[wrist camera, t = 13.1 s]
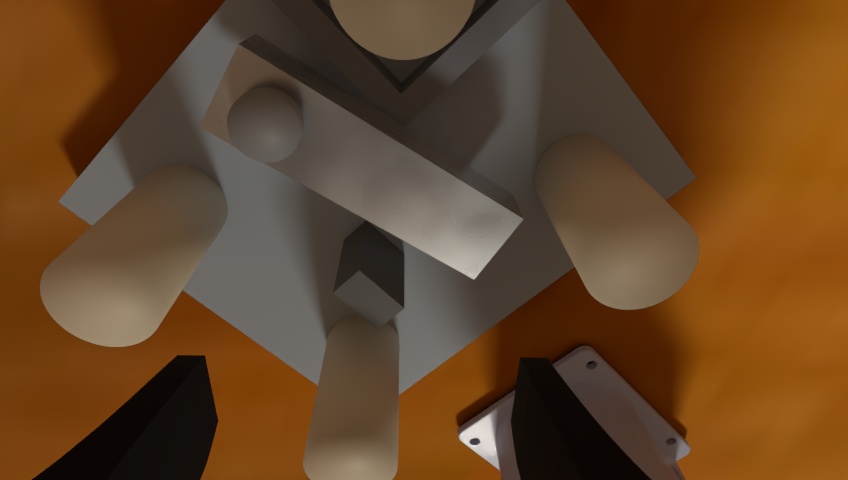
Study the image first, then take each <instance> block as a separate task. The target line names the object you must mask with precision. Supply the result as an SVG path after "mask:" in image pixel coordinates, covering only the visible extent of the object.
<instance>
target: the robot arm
mask: <svg viewBox="0 0 848 480" xmlns="http://www.w3.org/2000/svg"><path fill="white" fill-rule="evenodd" d="M590 361H594V362H593V363H591V364H587V363H588V362H590ZM217 423H218V418H217V413H216V408H215V403H214V399H213V394H212V389H211V384H210V379H209V374H208V369H207V364H206V359H205V356H193V355H177V356H176V357H175V358H174V359H173V360H172V361H171V362H170V363H168V364H167V365H166V366H165V367H164V368H163V369H162V370H161V371H160V372H159V373H157V374H156V375H155V376H154V377H153V378H152V379H151V380H150V381H149V382H148V383H147V384H146V385H144V386H143V387H142V388H141V389H140V390H139V391H138V392H137V393H136V394H135V395H134V396H133V397H131V398H130V399H129V400H128V401H127V402H126V403H125V404H124V405H123V406H121V407H120V408H119V409H118V410H117V411H116V412H115V413H114V414H112V415H111V416H110V417H109V418H108V419H107V420H106V421H105V422H103V423H102V424H101V425H100V426H99V427H98V428H96V429H95V430H94V431H93V432H92V433H90V434H89V435H88V436H87V437H86V438H84V439H83V440H82V441H81V442H79V443H78V444H77V445H76V446H75V447H73V448H72V449H71V450H70V451H69V452H67V453H66V454H65V455H64V456H63V457H61V458H60V459H59V460H57V461H56V462H55V463H54V464H52V465H51V466H50V467H48V468H47V469H46V470H44V471H43V472H42V473H40V474H39V475H38V476H36V477H35V478H34V479H32V480H200V479H201V476H202V474H203V471H204V469H205V466H206V463H207V460H208V456H209V453H210V450H211V446H212V442H213V439H214V435H215V431H216V427H217ZM458 438H459V440H460V441H461V442H463V443H464V444H465V445H467V446H468V447H469V448H471V449H472V450H473V451H475V452H476V453H477V454H479V455H480V456H481V457H483V458H484V459H485V460H487V461H488V462H489V463H491V464H492V465H493V466H495V467H496V468H497V469H498V470H500V473H501V479H502V480H685V478H684V476H683V474H682V472H681V470H680V468H679V466H678V465H677V463H676V461H677V460H679V459H681V458H682V457H684V456H686V455H687V454H688V453H689V452H690V446H689V444H688V443H687V441H686V440H685V439H684V438H683V437H682V436H681V435H680V434H679V433H678V432H677V431H676V430H675V429H674V428H673V427H672V426H671V425H670V424H669V423H668V422H667V421H666V420H665V419H664V418H663V417H662V416H661V415H660V414H659V413H658V412H657V411H656V410H655V409H654V408H653V407H651V406H650V405H649V404H648V403H647V402H646V401H645V400H644V399H643V398H642V397H641V396H640V395H639V394H638V393H637V392H636V391H635V390H634V389H633V388H632V387H631V386H630V385H629V384H628V383H627V382H626V381H625V380H624V379H623V378H622V377H621V376H620V375H619V374H618V373H617V372H616V371H615V370H614V369H613V368H612V367H611V366H610V365H609V364H608V363H607V362H606V361H605V360H604V359H603V358H602V357H601V356H600V355H599V354H598V353H597V352H596V351H595V350H594V349H593V348H591V347H590V346H580V347H578V348H576V349H575V350H573V351H572V352H570V353H569V354H567V355H566V356H564V357H563V358H561V359H560V360H559V361H557V362H556V363H554V364H553V365H552V364H551V362H550V361H549V360H548V359H547V358H520V364H519V370H518V377H517V383H516V389H515V390H514V391H512V392H511V393H509V394H508V395H506V396H505V397H503V398H502V399H500V400H499V401H497V402H496V403H494V404H493V405H491V406H490V407H488V408H487V409H485V410H484V411H482V412H481V413H480V414H478V415H477V416H475V417H474V418H472V419H471V420H469V421H468V422H466V423H465V424H463V425H462V426H460V427H459V429H458ZM473 438H476V439H473Z"/></svg>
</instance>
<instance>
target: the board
mask: <svg viewBox="0 0 848 480" xmlns="http://www.w3.org/2000/svg"><path fill="white" fill-rule="evenodd" d="M254 34H258V35H259V36H261V37H262V38H264V39H266V40H267V41H269V42H270V43H272V44H274V45H275V46H277V47H278V48H280V49H282V50H283V51H285V52H286V53H288V54H290V55H291V56H293V57H294V58H296V59H298V60H299V61H301V62H302V63H304V64H306V65H307V66H309V67H310V68H312V69H314V70H315V71H317V72H318V73H320V74H322V75H323V76H325V77H326V78H328V79H330V80H331V81H333V82H334V83H336V84H338V85H339V86H341V87H342V88H344V89H346V90H347V91H349V92H350V93H352V94H354V95H355V96H357V97H358V98H360V99H362V100H363V101H365V102H366V103H368V104H370V105H371V106H373V107H374V108H376V109H378V110H379V111H381V112H382V113H384V114H386V115H387V116H389V117H390V118H392V119H393V120H395V121H397V122H398V123H400V124H401V125H403V126H405V127H406V128H408V129H409V130H411V131H413V132H414V133H416V134H417V135H419V136H421V137H422V138H424V139H425V140H427V141H429V142H430V143H432V144H433V145H435V146H437V147H438V148H440V149H441V150H443V151H445V152H446V153H448V154H449V155H451V156H453V157H454V158H456V159H457V160H459V161H461V162H462V163H464V164H465V165H467V166H469V167H470V168H472V169H473V170H475V171H477V172H478V173H480V174H481V175H483V176H485V177H486V178H488V179H489V180H491V181H493V182H494V183H496V184H497V185H499V186H501V187H502V188H504V189H505V190H507V191H509V192H510V193H512V194H513V195H514V198H515V200H516V202H517V205H518V207H519V209H520V212H521V214H522V216H523V218H524V219H523V221H522V222H521V223H520V224H519V225H518V227H517V228H516V229H515V230H514V232H513V233H512V234H511V235H510V236H509V238H508V239H507V240H506V241H505V243H504V244H503V245H502V246H501V247H500V249H499V250H498V251H497V252H496V254H495V255H494V256H493V257H492V258H491V260H490V261H489V262H488V263H487V265H486V266H485V267H484V268H483V269H482V271H481V272H480V273H479V274H478V276H477V277H476V278H475V279H472V278H470V277H468V276H467V275H465V274H463V273H461V272H459V271H458V270H456V269H454V268H452V267H450V266H448V265H447V264H445V263H443V262H441V261H439V260H438V259H436V258H434V257H432V256H430V255H429V254H427V253H425V252H423V251H421V250H420V249H418V248H416V247H414V246H412V245H411V244H409V243H407V242H405V241H403V240H402V239H400V238H398V237H396V236H394V235H393V234H391V233H389V232H387V231H385V230H384V229H382V228H380V227H378V226H376V225H375V224H373V223H371V222H369V221H367V220H366V219H364V218H362V217H360V216H358V215H357V214H355V213H353V212H351V211H349V210H348V209H346V208H344V207H342V206H340V205H339V204H337V203H335V202H333V201H331V200H330V199H328V198H326V197H324V196H322V195H320V194H319V193H317V192H315V191H313V190H311V189H310V188H308V187H306V186H304V185H302V184H301V183H299V182H297V181H295V180H293V179H292V178H290V177H288V176H286V175H284V174H283V173H281V172H279V171H277V170H275V169H274V168H272V167H270V166H268V165H266V164H265V163H263V162H267V163H269V162H277V161H280V160H283V159H285V158H286V157H288V156H289V155H290V154H292V152H293V151H294V150H295V148H296V147H297V145H298V143H299V141H300V140H301V137H302V135H303V132H304V118H303V114H302V111H301V109H300V107H299V106H298V104H297V103H296V101H295V100H294V99H293V98H292V97H291V96H290V95H288V94H287V93H285V92H284V91H282V90H280V89H277V88H274V87H268V86H261V87H255V88H252V89H250V90H248V91H247V92H245V93H244V94H243V95H242V96H241V97H240V98H238V99H237V100H236V101H235V102H234V104H233V105H232V106H231V108H230V110H229V113H228V117H227V129H228V133H229V136H230V138H231V140H232V142H233V143H234V145H235V146H236V147H237V148H236V147H234V146H232V145H230V144H229V143H227V142H225V141H223V140H221V139H220V138H218V137H216V136H214V135H212V134H211V133H209V132H207V131H205V130H203V129H201V128H200V127H199V126H200V124H201V122H202V120H203V118H204V116H205V113H206V111H207V109H208V107H209V105H210V103H211V101H212V99H213V96H214V94H215V92H216V90H217V88H218V86H219V84H220V82H221V80H222V77H223V75H224V73H225V71H226V69H227V67H228V65H229V63H230V61H231V58H232V56H233V54H234V52H235V50H236V48H237V46H238V44H239V43H241V42H242V41H244V40H246V39H247V38H249V37H251V36H253V35H254ZM695 179H696V176H695V175H694V174H693V172H692V171H691V170H690V168H689V167H688V166H687V164H686V163H685V161H684V160H683V159H682V157H681V156H680V155H679V153H678V152H677V151H676V149H675V148H674V147H673V145H672V144H671V142H670V141H669V140H668V138H667V137H666V136H665V134H664V133H663V132H662V130H661V129H660V128H659V126H658V125H657V123H656V122H655V121H654V119H653V118H652V117H651V115H650V114H649V113H648V111H647V110H646V109H645V107H644V106H643V104H642V103H641V102H640V100H639V99H638V98H637V96H636V95H635V94H634V92H633V91H632V90H631V88H630V87H629V85H628V84H627V83H626V81H625V80H624V79H623V77H622V76H621V75H620V73H619V72H618V71H617V69H616V68H615V66H614V65H613V64H612V62H611V61H610V60H609V58H608V57H607V56H606V54H605V53H604V52H603V50H602V49H601V47H600V46H599V45H598V43H597V42H596V41H595V39H594V38H593V37H592V35H591V34H590V33H589V31H588V30H587V28H586V27H585V26H584V24H583V23H582V22H581V20H580V19H579V18H578V16H577V15H576V14H575V12H574V11H573V9H572V8H571V7H570V5H569V4H568V3H567V1H566V0H475V3H474V6H473V9H472V12H471V14H470V16H469V18H468V20H467V22H466V23H465V25H464V27H463V28H462V29H461V31H460V32H459V33H458V35H457V36H456V37H455V38H454V39H453V40H452V41H451V42H450V43H448V44H447V45H446V46H444V47H443V48H442V49H440V50H438V51H436V52H435V53H432V54H430V55H428V56H425V57H421V58H417V59H410V60H396V59H389V58H385V57H382V56H379V55H376V54H374V53H372V52H370V51H368V50H367V49H365V48H363V47H362V46H360V45H359V44H358V43H357V42H355V41H354V40H353V39H352V38H351V37H350V36H349V35H348V34H347V32H346V31H345V30H344V29H343V27H342V26H341V24H340V23H339V21H338V19H337V18H336V16H335V14H334V11H333V9H332V7H331V4H330V0H225V2H224V3H223V4H222V5H221V6H220V8H219V9H218V10H217V11H216V12H215V14H214V15H213V16H212V17H211V18H210V20H209V21H208V22H207V23H206V25H205V26H204V27H203V28H202V29H201V31H200V32H199V33H198V34H197V35H196V37H195V38H194V39H193V40H192V41H191V43H190V44H189V45H188V46H187V47H186V49H185V50H184V51H183V52H182V53H181V55H180V56H179V57H178V58H177V59H176V61H175V62H174V63H173V64H172V65H171V67H170V68H169V69H168V70H167V71H166V73H165V74H164V75H163V76H162V77H161V79H160V80H159V81H158V82H157V83H156V85H155V86H154V87H153V88H152V90H151V91H150V92H149V93H148V94H147V96H146V97H145V98H144V99H143V100H142V102H141V103H140V104H139V105H138V106H137V108H136V109H135V110H134V111H133V112H132V114H131V115H130V116H129V117H128V118H127V120H126V121H125V122H124V123H123V124H122V126H121V127H120V128H119V129H118V130H117V132H116V133H115V134H114V135H113V136H112V138H111V139H110V140H109V141H108V142H107V144H106V145H105V146H104V147H103V148H102V150H101V151H100V152H99V153H98V155H97V156H96V157H95V158H94V159H93V161H92V162H91V163H90V164H89V165H88V167H87V168H86V169H85V170H84V171H83V173H82V174H81V175H80V176H79V177H78V179H77V180H76V181H75V182H74V183H73V185H72V186H71V187H70V188H69V189H68V191H67V192H66V193H65V194H64V195H63V197H62V198H61V199H60V200H59V201H58V202H59V203H61V204H62V205H63V206H65V207H66V208H68V209H69V210H70V211H72V212H73V213H75V214H76V215H78V216H79V217H80V218H82V219H83V220H85V221H86V222H87V223H89V224H90V225H92V226H91V227H90V228H89V229H88V230H87V231H86V232H85V233H84V234H82V235H81V236H80V237H79V238H78V239H77V240H76V241H75V242H74V243H72V244H71V245H70V246H69V247H68V248H67V249H66V250H65V251H64V252H62V253H61V254H60V255H59V256H58V257H57V258H56V259H55V260H54V261H52V262H51V263H50V264H49V265H48V266H47V268H46V269H45V271H44V273H43V275H42V277H41V281H40V293H41V297H42V301H43V303H44V305H45V307H46V309H47V311H48V312H49V314H50V315H51V316H52V318H53V319H54V320H55V321H56V322H57V323H58V324H59V325H60V326H61V327H63V328H64V329H65V330H67V331H68V332H70V333H71V334H73V335H75V336H76V337H78V338H80V339H83V340H85V341H87V342H90V343H93V344H97V345H102V346H108V347H124V346H130V345H134V344H137V343H140V342H142V341H144V340H145V339H147V338H149V337H150V336H151V335H152V334H153V333H154V332H155V331H156V329H157V328H158V326H159V325H160V323H161V322H162V320H163V319H164V317H165V316H166V314H167V312H168V311H169V309H170V308H171V306H172V305H173V303H174V302H175V300H176V299H177V297H178V295H179V294H180V292H181V291H182V290H183V291H185V292H186V293H188V294H189V295H190V296H192V297H193V298H195V299H196V300H198V301H199V302H200V303H202V304H203V305H205V306H206V307H207V308H209V309H210V310H212V311H213V312H214V313H216V314H217V315H219V316H220V317H222V318H223V319H224V320H226V321H227V322H229V323H230V324H231V325H233V326H234V327H236V328H237V329H238V330H240V331H241V332H243V333H244V334H246V335H247V336H248V337H250V338H251V339H253V340H254V341H255V342H257V343H258V344H260V345H261V346H262V347H264V348H265V349H267V350H268V351H270V352H271V353H272V354H274V355H275V356H277V357H278V358H279V359H281V360H282V361H284V362H285V363H286V364H288V365H289V366H291V367H292V368H293V369H295V370H296V371H298V372H299V373H301V374H302V375H303V376H305V377H306V378H308V379H309V380H310V381H312V382H313V383H315V384H316V385H317V386H318V388H317V393H316V398H315V403H314V408H313V413H312V418H311V424H310V429H309V434H308V439H307V444H306V449H305V454H304V459H303V466H304V470H305V473H306V474H307V476H308V477H309V479H310V480H392V479H393V478H394V476H395V474H396V472H397V468H398V421H399V394H401V393H402V392H404V391H405V390H406V389H408V388H409V387H410V386H412V385H413V384H414V383H416V382H417V381H419V380H420V379H421V378H423V377H424V376H425V375H427V374H428V373H430V372H431V371H432V370H434V369H435V368H436V367H438V366H439V365H441V364H442V363H443V362H445V361H446V360H447V359H449V358H450V357H452V356H453V355H454V354H456V353H457V352H458V351H460V350H461V349H463V348H464V347H465V346H467V345H468V344H469V343H471V342H472V341H474V340H475V339H476V338H478V337H479V336H480V335H482V334H483V333H485V332H486V331H487V330H489V329H490V328H491V327H493V326H494V325H496V324H497V323H498V322H500V321H501V320H502V319H504V318H505V317H506V316H508V315H509V314H511V313H512V312H513V311H515V310H516V309H517V308H519V307H520V306H522V305H523V304H524V303H526V302H527V301H528V300H530V299H531V298H533V297H534V296H535V295H537V294H538V293H539V292H541V291H542V290H544V289H545V288H546V287H548V286H549V285H550V284H552V283H553V282H555V281H556V280H557V279H559V278H560V277H561V276H563V275H564V274H566V273H567V272H568V271H570V270H571V269H572V268H574V267H575V268H576V270H577V272H578V274H579V275H580V277H581V279H582V281H583V283H584V285H585V287H586V289H587V290H588V292H589V293H590V294H591V296H592V297H594V298H595V299H596V300H597V301H599V302H600V303H602V304H604V305H606V306H608V307H611V308H615V309H621V310H636V309H642V308H646V307H650V306H653V305H656V304H658V303H660V302H662V301H664V300H666V299H667V298H669V297H671V296H672V295H673V294H675V293H676V292H677V291H678V290H679V289H681V288H682V287H683V285H684V284H685V283H686V282H687V281H688V279H689V278H690V277H691V275H692V273H693V271H694V269H695V267H696V264H697V261H698V257H699V243H698V238H697V236H696V233H695V231H694V230H693V228H692V227H691V225H690V224H689V223H688V222H687V221H686V220H685V219H684V218H683V217H682V216H681V215H680V214H679V213H678V212H677V211H676V210H675V209H674V208H673V207H672V206H671V205H670V204H669V203H668V202H667V201H666V200H667V199H669V198H670V197H671V196H673V195H674V194H675V193H677V192H678V191H679V190H681V189H682V188H684V187H685V186H686V185H688V184H689V183H690V182H692V181H693V180H695Z"/></svg>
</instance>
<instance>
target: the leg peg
mask: <svg viewBox="0 0 848 480" xmlns="http://www.w3.org/2000/svg"><path fill="white" fill-rule="evenodd" d="M474 3H475V0H330V4H331V7H332V9H333V11H334V14H335V16H336V18H337V19H338V21H339V23H340V24H341V26H342V27H343V29H344V30H345V31H346V32H347V34H348V35H349V36H350V37H351V38H352V39H353V40H354V41H355V42H357V43H358V44H359V45H360V46H362V47H363V48H365V49H367V50H368V51H370V52H372V53H374V54H376V55H379V56H382V57H385V58H389V59H396V60H410V59H417V58H421V57H425V56H428V55H430V54H432V53H435V52H436V51H438V50H440V49H442V48H443V47H444V46H446V45H447V44H448V43H450V42H451V41H452V40H453V39H454V38H455V37H456V36H457V35H458V33H459V32H460V31H461V29H462V28H463V27H464V25H465V23H466V22H467V20H468V18H469V16H470V14H471V12H472V9H473V6H474Z"/></svg>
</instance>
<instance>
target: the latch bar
mask: <svg viewBox="0 0 848 480" xmlns="http://www.w3.org/2000/svg"><path fill="white" fill-rule="evenodd" d="M261 86H268V87H274V88H277V89H280V90H282V91H284V92H285V93H287V94H288V95H290V96H291V97H292V98H293V99H294V100H295V101H296V103H297V104H298V106H299V107H300V109H301V111H302V114H303V118H304V132H303V135H302V137H301V140H300V141H299V143H298V145H297V147H296V148H295V150H294V151H293V152H292V154H290V155H289V156H288V157H286V158H285V159H283V160H280V161H277V162H269V163H267V162H263V163H265V164H266V165H268V166H270V167H272V168H274V169H275V170H277V171H279V172H281V173H283V174H284V175H286V176H288V177H290V178H292V179H293V180H295V181H297V182H299V183H301V184H302V185H304V186H306V187H308V188H310V189H311V190H313V191H315V192H317V193H319V194H320V195H322V196H324V197H326V198H328V199H330V200H331V201H333V202H335V203H337V204H339V205H340V206H342V207H344V208H346V209H348V210H349V211H351V212H353V213H355V214H357V215H358V216H360V217H362V218H364V219H366V220H367V221H369V222H371V223H373V224H375V225H376V226H378V227H380V228H382V229H384V230H385V231H387V232H389V233H391V234H393V235H394V236H396V237H398V238H400V239H402V240H403V241H405V242H407V243H409V244H411V245H412V246H414V247H416V248H418V249H420V250H421V251H423V252H425V253H427V254H429V255H430V256H432V257H434V258H436V259H438V260H439V261H441V262H443V263H445V264H447V265H448V266H450V267H452V268H454V269H456V270H458V271H459V272H461V273H463V274H465V275H467V276H468V277H470V278H472V279H475V278H476V277H477V276H478V274H479V273H480V272H481V271H482V269H483V268H484V267H485V266H486V265H487V263H488V262H489V261H490V260H491V258H492V257H493V256H494V255H495V254H496V252H497V251H498V250H499V249H500V247H501V246H502V245H503V244H504V243H505V241H506V240H507V239H508V238H509V236H510V235H511V234H512V233H513V232H514V230H515V229H516V228H517V227H518V225H519V224H520V223H521V222H522V221H523V219H524V218H523V216H522V214H521V212H520V209H519V207H518V205H517V202H516V200H515V198H514V195H513V194H512V193H510V192H509V191H507V190H505V189H504V188H502V187H501V186H499V185H497V184H496V183H494V182H493V181H491V180H489V179H488V178H486V177H485V176H483V175H481V174H480V173H478V172H477V171H475V170H473V169H472V168H470V167H469V166H467V165H465V164H464V163H462V162H461V161H459V160H457V159H456V158H454V157H453V156H451V155H449V154H448V153H446V152H445V151H443V150H441V149H440V148H438V147H437V146H435V145H433V144H432V143H430V142H429V141H427V140H425V139H424V138H422V137H421V136H419V135H417V134H416V133H414V132H413V131H411V130H409V129H408V128H406V127H405V126H403V125H401V124H400V123H398V122H397V121H395V120H393V119H392V118H390V117H389V116H387V115H386V114H384V113H382V112H381V111H379V110H378V109H376V108H374V107H373V106H371V105H370V104H368V103H366V102H365V101H363V100H362V99H360V98H358V97H357V96H355V95H354V94H352V93H350V92H349V91H347V90H346V89H344V88H342V87H341V86H339V85H338V84H336V83H334V82H333V81H331V80H330V79H328V78H326V77H325V76H323V75H322V74H320V73H318V72H317V71H315V70H314V69H312V68H310V67H309V66H307V65H306V64H304V63H302V62H301V61H299V60H298V59H296V58H294V57H293V56H291V55H290V54H288V53H286V52H285V51H283V50H282V49H280V48H278V47H277V46H275V45H274V44H272V43H270V42H269V41H267V40H266V39H264V38H262V37H261V36H259V35H258V34H254V35H253V36H251V37H249V38H247V39H246V40H244V41H242V42H241V43H239V44H238V46H237V48H236V50H235V52H234V54H233V56H232V58H231V61H230V63H229V65H228V67H227V69H226V71H225V73H224V75H223V77H222V80H221V82H220V84H219V86H218V88H217V90H216V92H215V94H214V96H213V99H212V101H211V103H210V105H209V107H208V109H207V111H206V113H205V116H204V118H203V120H202V122H201V124H200V126H199V127H200V128H201V129H203V130H205V131H207V132H209V133H211V134H212V135H214V136H216V137H218V138H220V139H221V140H223V141H225V142H227V143H229V144H230V145H232V146H234V147H236V146H235V145H234V143H233V142H232V140H231V138H230V136H229V133H228V129H227V117H228V113H229V110H230V108H231V106H232V105H233V104H234V102H235V101H236V100H237V99H238V98H240V97H241V96H242V95H243V94H244V93H245V92H247V91H248V90H250V89H252V88H255V87H261ZM236 148H237V147H236Z"/></svg>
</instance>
